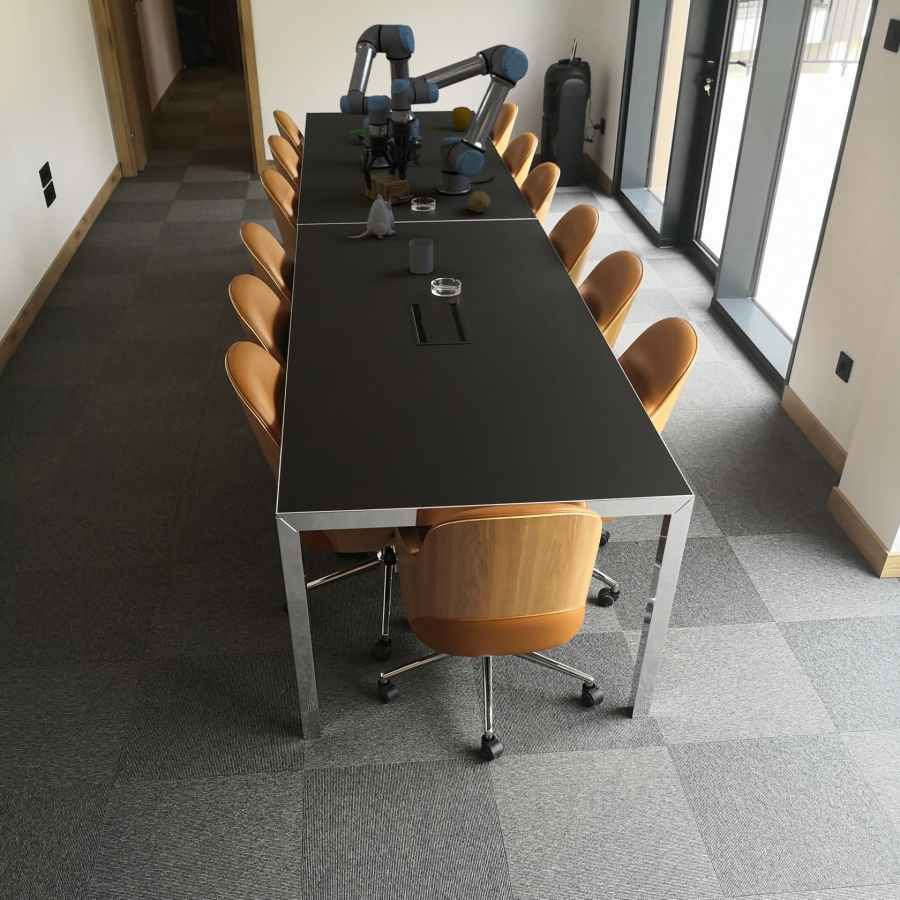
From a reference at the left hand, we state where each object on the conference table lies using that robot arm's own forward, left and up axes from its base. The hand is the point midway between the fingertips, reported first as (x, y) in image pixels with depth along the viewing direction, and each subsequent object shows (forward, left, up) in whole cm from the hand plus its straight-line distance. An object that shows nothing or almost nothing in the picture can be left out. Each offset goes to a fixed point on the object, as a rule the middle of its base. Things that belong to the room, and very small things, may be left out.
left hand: (380, 186), depth 382 cm
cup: (+63, +68, -4) cm, 93 cm away
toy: (+47, +32, -4) cm, 57 cm away
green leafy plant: (-76, -63, -4) cm, 99 cm away
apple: (-125, -41, -4) cm, 132 cm away
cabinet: (+2, +5, -4) cm, 6 cm away
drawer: (+3, +10, -3) cm, 11 cm away
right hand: (+6, +17, +7) cm, 20 cm away
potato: (-5, +48, -4) cm, 49 cm away
